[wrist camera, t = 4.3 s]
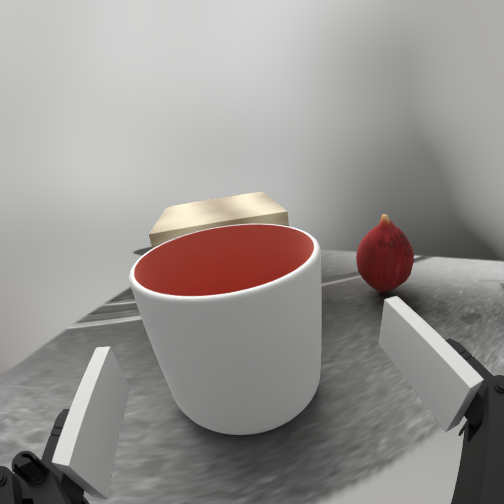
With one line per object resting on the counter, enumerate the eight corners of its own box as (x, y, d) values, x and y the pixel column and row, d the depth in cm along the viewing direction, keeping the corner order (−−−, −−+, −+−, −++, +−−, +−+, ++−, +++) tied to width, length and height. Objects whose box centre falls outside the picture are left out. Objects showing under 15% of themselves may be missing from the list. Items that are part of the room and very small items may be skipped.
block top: (163, 291, 23) (149, 234, 22) (175, 248, 34) (167, 207, 32) (292, 269, 25) (287, 211, 23) (266, 233, 35) (261, 191, 33)
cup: (344, 365, 19) (350, 231, 16) (259, 471, 12) (225, 330, 8) (239, 328, 25) (221, 218, 22) (150, 394, 18) (99, 270, 15)
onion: (418, 290, 26) (426, 215, 23) (389, 314, 24) (396, 228, 21) (377, 274, 31) (379, 205, 28) (344, 292, 28) (344, 216, 26)
